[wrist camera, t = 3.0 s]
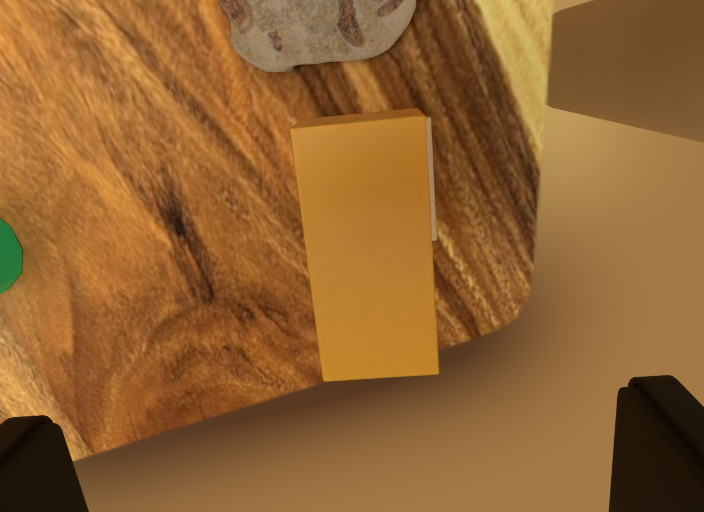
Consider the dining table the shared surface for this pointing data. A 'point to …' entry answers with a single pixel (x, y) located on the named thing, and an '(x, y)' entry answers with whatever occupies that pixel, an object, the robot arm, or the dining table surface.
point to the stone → (314, 30)
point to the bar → (368, 242)
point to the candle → (9, 257)
